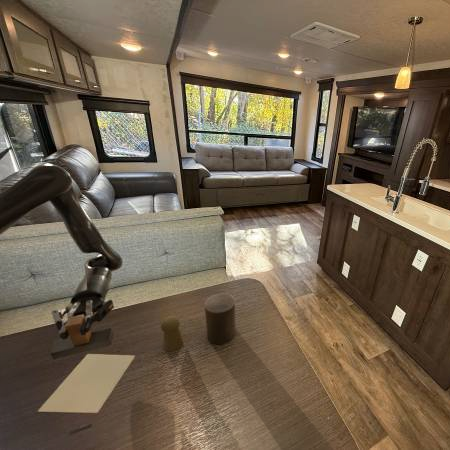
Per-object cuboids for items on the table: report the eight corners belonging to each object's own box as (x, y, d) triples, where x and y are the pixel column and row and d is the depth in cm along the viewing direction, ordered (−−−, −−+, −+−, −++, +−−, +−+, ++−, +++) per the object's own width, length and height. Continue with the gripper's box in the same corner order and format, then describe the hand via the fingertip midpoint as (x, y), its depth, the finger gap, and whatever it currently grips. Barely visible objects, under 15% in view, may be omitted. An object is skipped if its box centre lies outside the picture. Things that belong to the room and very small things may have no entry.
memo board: (38, 414, 60) (36, 411, 59) (88, 356, 75) (87, 353, 74) (98, 415, 61) (97, 412, 60) (136, 358, 75) (135, 355, 75)
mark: (71, 433, 57) (70, 437, 56) (70, 430, 57) (68, 434, 56) (93, 426, 59) (92, 429, 58) (91, 423, 58) (91, 426, 58)
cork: (161, 355, 77) (156, 329, 73) (165, 339, 82) (161, 314, 78) (182, 352, 79) (178, 326, 75) (185, 336, 84) (181, 312, 80)
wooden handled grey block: (53, 359, 63) (39, 333, 58) (58, 346, 66) (45, 320, 61) (111, 345, 68) (102, 320, 63) (113, 333, 71) (105, 308, 66)
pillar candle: (220, 349, 81) (218, 314, 75) (200, 335, 85) (197, 301, 79) (241, 330, 89) (241, 297, 83) (222, 318, 93) (221, 286, 87)
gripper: (57, 286, 70) (29, 331, 56) (117, 277, 76) (105, 316, 62) (65, 307, 73) (39, 354, 59) (122, 296, 79) (111, 337, 65)
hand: (73, 334), depth 61 cm, fingers closed on wooden handled grey block, 3 cm apart
